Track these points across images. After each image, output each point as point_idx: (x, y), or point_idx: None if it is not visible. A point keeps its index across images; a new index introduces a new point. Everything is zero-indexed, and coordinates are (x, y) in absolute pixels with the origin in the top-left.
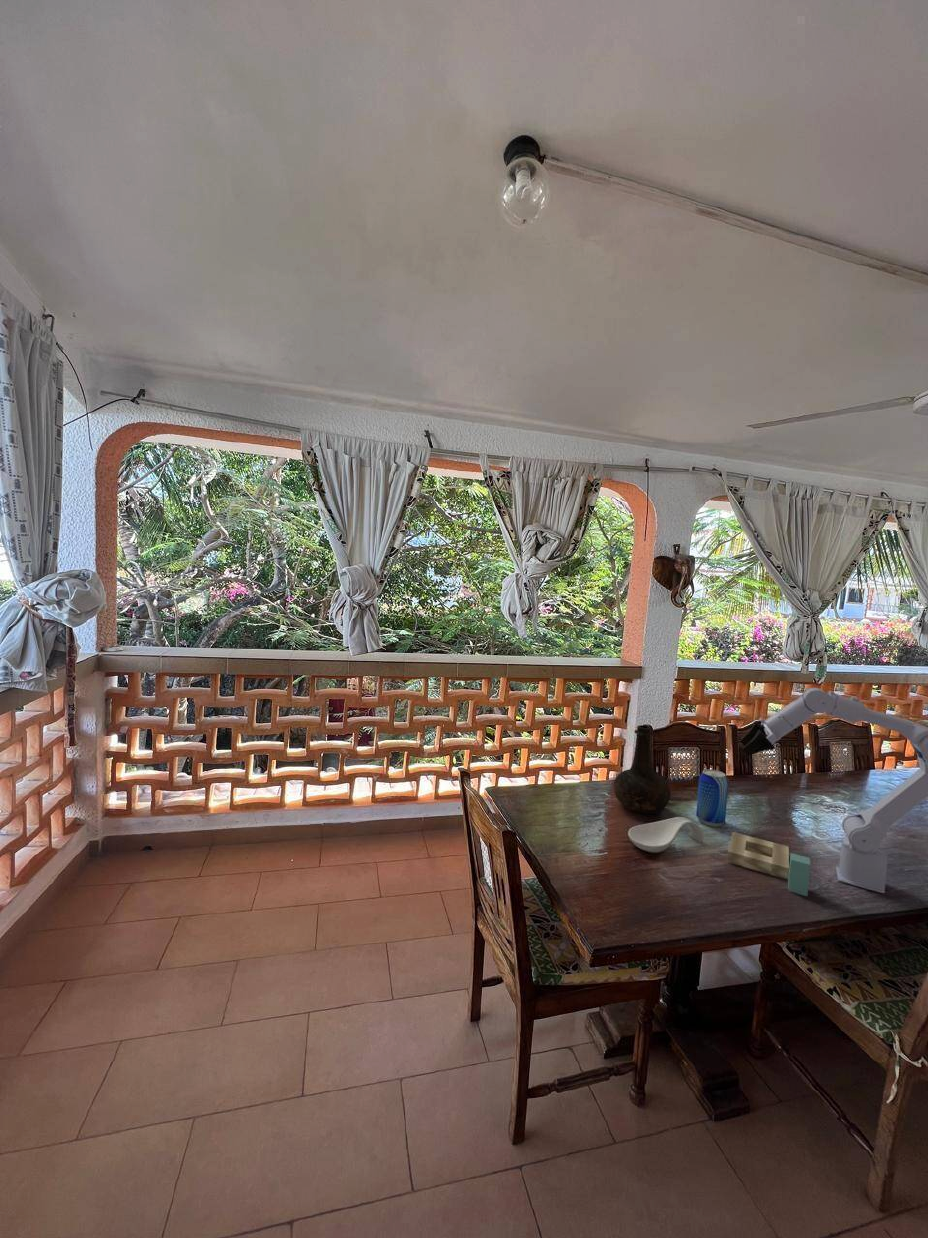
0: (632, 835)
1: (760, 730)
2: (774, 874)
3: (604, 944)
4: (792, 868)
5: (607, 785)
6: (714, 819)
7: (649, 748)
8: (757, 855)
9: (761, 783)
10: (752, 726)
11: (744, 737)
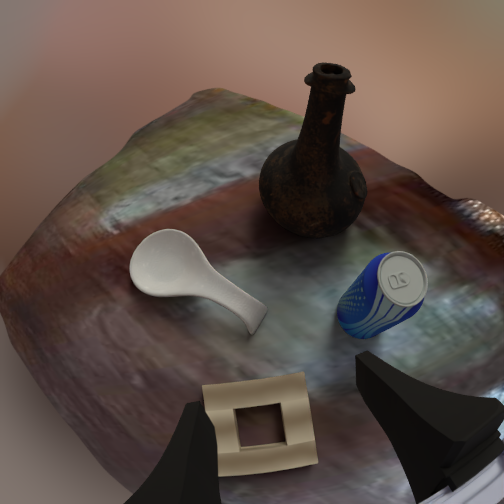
0: (160, 239)
1: (429, 468)
2: None
3: None
4: None
5: (348, 147)
6: (343, 324)
7: (325, 122)
8: (227, 430)
9: None
10: (460, 401)
11: (374, 373)
